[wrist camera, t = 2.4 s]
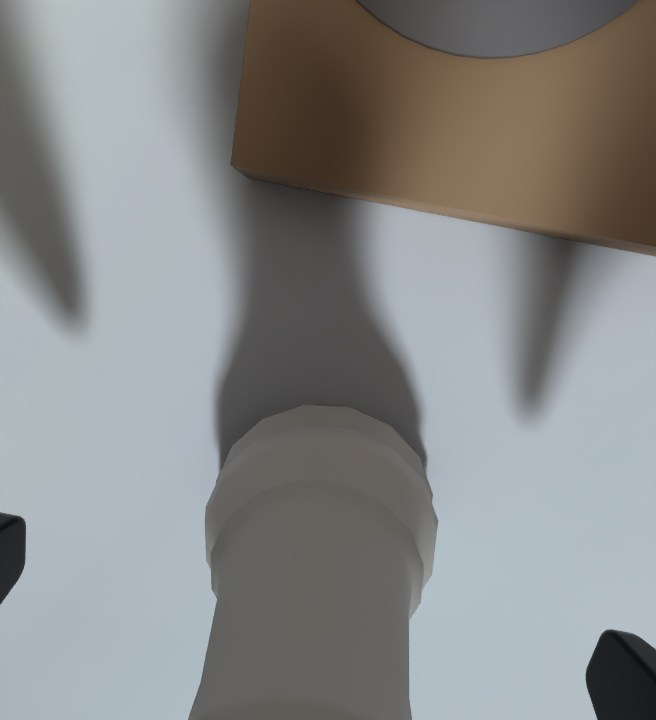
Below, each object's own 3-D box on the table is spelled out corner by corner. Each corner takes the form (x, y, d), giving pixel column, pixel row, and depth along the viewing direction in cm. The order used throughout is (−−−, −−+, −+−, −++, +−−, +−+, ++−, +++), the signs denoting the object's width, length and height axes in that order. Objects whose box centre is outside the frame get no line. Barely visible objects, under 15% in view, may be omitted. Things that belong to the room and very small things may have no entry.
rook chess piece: (396, 601, 10) (571, 1847, 2) (205, 556, 10) (-314, 1669, 2) (456, 424, 9) (1237, 1671, 1) (241, 372, 9) (-559, 1293, 1)
